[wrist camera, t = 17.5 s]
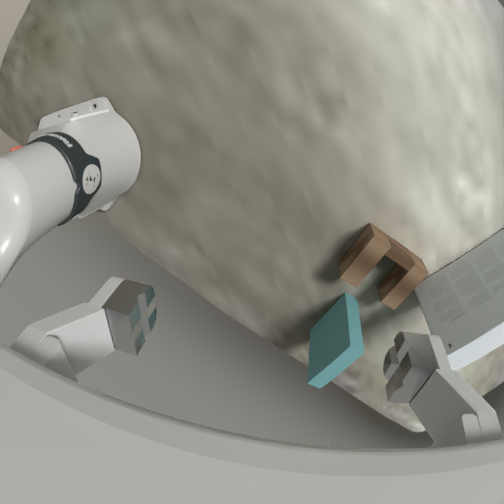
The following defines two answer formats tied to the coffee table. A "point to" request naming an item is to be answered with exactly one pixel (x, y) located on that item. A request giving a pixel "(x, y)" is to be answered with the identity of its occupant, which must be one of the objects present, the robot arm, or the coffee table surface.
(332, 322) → the teal rectangular block
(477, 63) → the coffee table surface
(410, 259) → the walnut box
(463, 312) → the skincare box
